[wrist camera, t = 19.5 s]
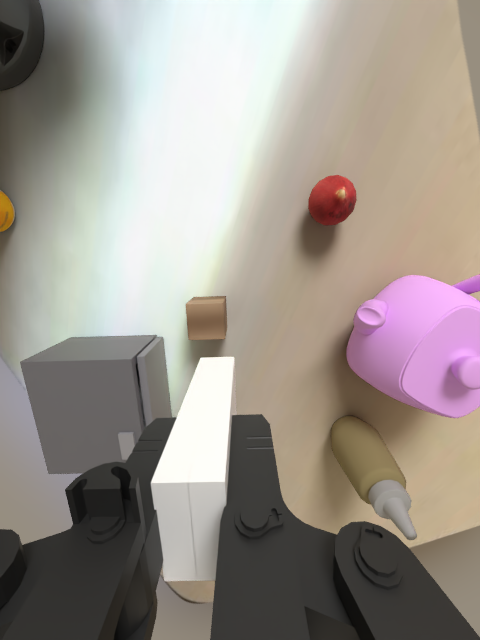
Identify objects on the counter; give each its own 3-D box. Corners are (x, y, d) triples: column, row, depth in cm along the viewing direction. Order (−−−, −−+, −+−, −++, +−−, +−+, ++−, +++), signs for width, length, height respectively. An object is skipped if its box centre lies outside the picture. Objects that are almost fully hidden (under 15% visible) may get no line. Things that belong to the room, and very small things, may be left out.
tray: (77, 339, 42) (38, 359, 34) (163, 337, 42) (144, 356, 34) (94, 428, 46) (63, 465, 38) (172, 427, 46) (158, 463, 38)
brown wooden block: (193, 297, 41) (185, 304, 35) (225, 296, 40) (223, 303, 35) (196, 328, 42) (188, 339, 36) (227, 327, 42) (224, 338, 36)
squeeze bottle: (378, 433, 46) (461, 541, 29) (339, 456, 48) (396, 573, 30) (355, 401, 45) (427, 494, 27) (315, 425, 46) (361, 530, 29)
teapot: (489, 289, 40) (631, 309, 25) (405, 397, 45) (484, 467, 30) (366, 214, 37) (446, 188, 23) (291, 337, 42) (317, 381, 27)
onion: (351, 203, 37) (381, 190, 29) (323, 236, 38) (344, 231, 30) (322, 175, 36) (344, 153, 28) (294, 209, 37) (308, 197, 30)
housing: (70, 337, 42) (17, 363, 32) (156, 335, 42) (129, 360, 32) (89, 428, 46) (46, 477, 36) (167, 427, 46) (146, 475, 36)
